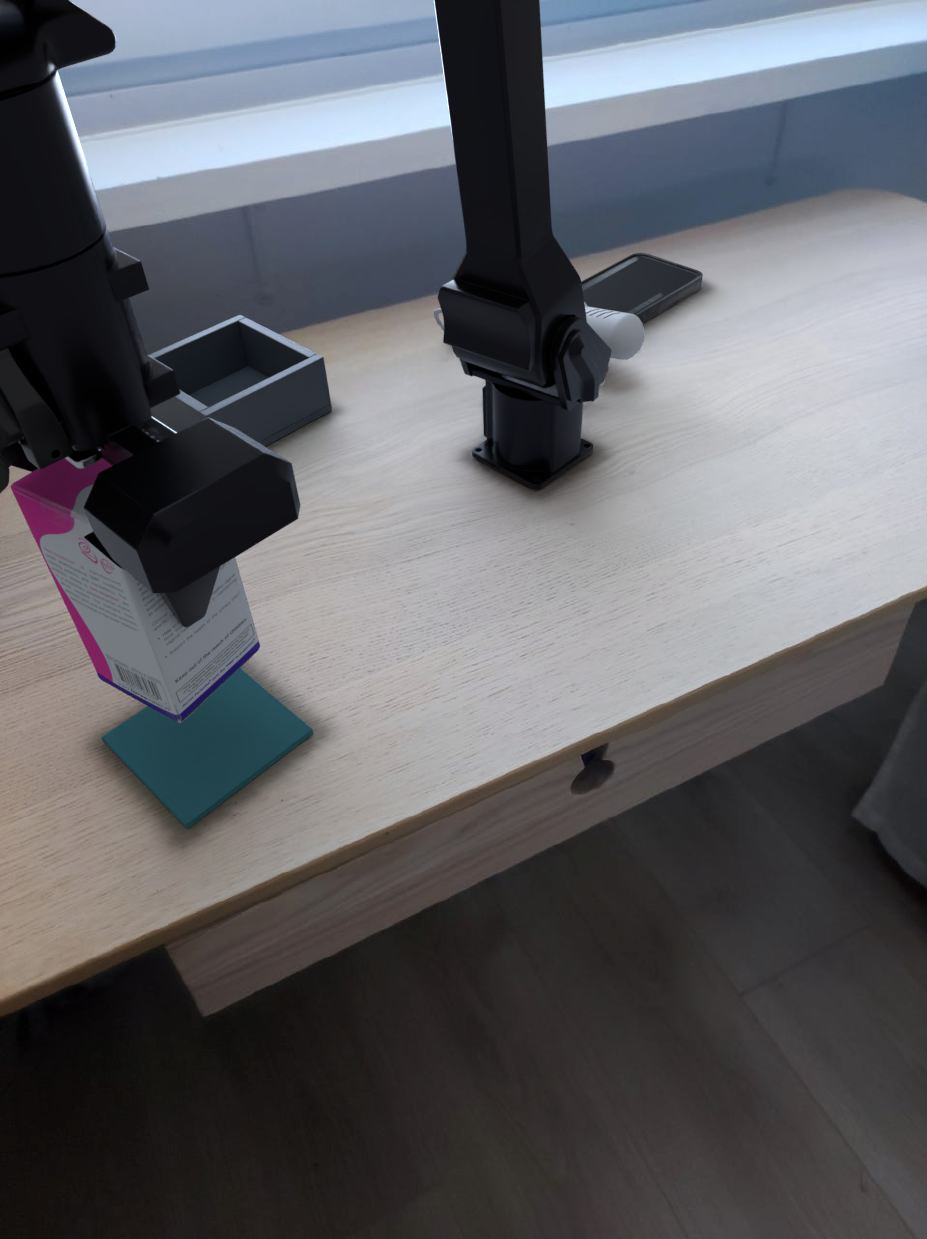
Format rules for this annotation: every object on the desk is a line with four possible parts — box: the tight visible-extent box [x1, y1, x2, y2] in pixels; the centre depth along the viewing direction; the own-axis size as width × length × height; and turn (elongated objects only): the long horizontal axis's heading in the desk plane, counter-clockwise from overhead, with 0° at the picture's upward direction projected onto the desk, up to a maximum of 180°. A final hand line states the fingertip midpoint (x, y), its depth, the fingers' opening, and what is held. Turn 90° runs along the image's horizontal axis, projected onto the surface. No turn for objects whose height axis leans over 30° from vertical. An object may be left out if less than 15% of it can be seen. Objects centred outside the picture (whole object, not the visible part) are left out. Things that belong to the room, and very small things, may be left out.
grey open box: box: [148, 314, 333, 447], centre depth 69 cm, size 11×11×5 cm
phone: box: [581, 252, 704, 324], centre depth 81 cm, size 8×1×15 cm
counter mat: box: [101, 668, 314, 830], centre depth 48 cm, size 8×8×1 cm
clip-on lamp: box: [433, 302, 646, 387], centre depth 72 cm, size 12×6×18 cm
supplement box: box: [10, 458, 261, 723], centre depth 40 cm, size 6×6×12 cm
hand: (152, 586), depth 41 cm, fingers closed on supplement box, 6 cm apart
